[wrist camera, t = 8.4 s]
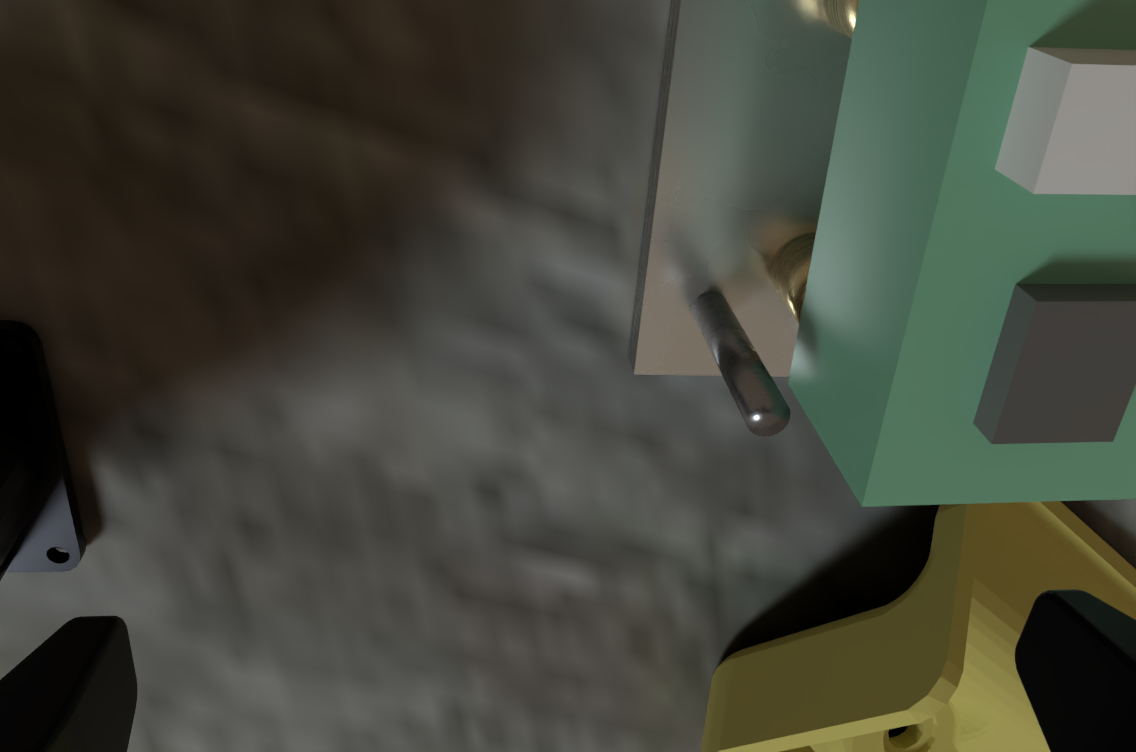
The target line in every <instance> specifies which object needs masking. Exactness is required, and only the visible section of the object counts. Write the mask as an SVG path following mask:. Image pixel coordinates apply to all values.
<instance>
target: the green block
mask: <svg viewBox="0 0 1136 752" xmlns="http://www.w3.org/2000/svg"><path fill="white" fill-rule="evenodd" d="M788 385H789V387H790V388H791V390H792V392H793V393H794V395H795V397H796V398H797V400H798V402H799V403H800V405H801V407H802V408H803V410H804V412H805V413H806V415H807V417H808V418H809V420H810V422H811V423H812V425H813V427H814V428H815V430H816V431H817V433H818V435H819V436H820V438H821V440H822V441H823V443H824V445H825V446H826V448H827V450H828V451H829V453H830V455H831V456H832V458H833V460H834V461H835V463H836V465H837V466H838V468H839V470H840V471H841V473H842V475H843V476H844V478H845V480H846V481H847V483H848V485H849V486H850V488H851V490H852V491H853V493H854V495H855V496H856V498H857V500H858V501H859V503H860V505H861V506H862V507H872V506H906V505H941V504H976V503H1011V502H1045V501H1080V500H1115V499H1136V0H859V5H858V10H857V15H856V21H855V26H854V32H853V37H852V42H851V48H850V53H849V58H848V64H847V69H846V75H845V80H844V85H843V91H842V96H841V101H840V107H839V112H838V118H837V123H836V128H835V134H834V139H833V144H832V150H831V155H830V161H829V166H828V171H827V177H826V182H825V188H824V193H823V198H822V204H821V209H820V214H819V220H818V225H817V231H816V236H815V241H814V247H813V252H812V257H811V263H810V268H809V274H808V279H807V284H806V290H805V295H804V300H803V306H802V311H801V317H800V322H799V327H798V333H797V338H796V344H795V349H794V354H793V360H792V365H791V370H790V376H789V381H788Z"/></svg>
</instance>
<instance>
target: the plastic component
mask: <svg viewBox="0 0 1136 752" xmlns="http://www.w3.org/2000/svg"><path fill="white" fill-rule="evenodd" d="M1066 589H1077V590H1082V591H1086V592H1088V593H1090V594H1091V595H1093V596H1095V597H1097V598H1098V599H1100V600H1102V601H1104V602H1105V603H1107V604H1109V605H1111V606H1112V607H1114V608H1116V609H1118V610H1119V611H1121V612H1123V613H1125V614H1126V615H1128V616H1130V617H1132V618H1133V619H1135V620H1136V569H1135V568H1134V567H1132V566H1131V565H1130V564H1129V563H1128V562H1127V561H1126V560H1125V559H1124V558H1122V557H1121V556H1120V555H1119V554H1118V553H1117V552H1116V551H1115V550H1114V549H1113V548H1111V547H1110V546H1109V545H1108V544H1107V543H1106V542H1105V541H1104V540H1103V539H1101V538H1100V537H1099V536H1098V535H1097V534H1096V533H1095V532H1094V531H1093V530H1091V529H1090V528H1089V527H1088V526H1087V525H1086V524H1085V523H1084V522H1083V521H1082V520H1080V519H1079V518H1078V517H1077V516H1076V515H1075V514H1074V513H1073V512H1072V511H1070V510H1069V509H1068V508H1067V507H1066V506H1065V505H1064V504H1063V503H1062V502H1060V501H1045V502H1011V503H976V504H941V505H940V506H939V509H938V512H937V515H936V518H935V524H934V531H933V537H932V543H931V550H930V555H929V558H928V560H927V563H926V565H925V567H924V569H923V570H922V572H921V573H920V575H919V577H918V578H917V580H916V581H915V582H914V583H913V584H912V586H911V587H910V588H909V589H908V590H907V591H906V592H905V593H903V594H902V595H901V596H900V597H899V598H897V599H896V600H894V601H893V602H891V603H889V604H887V605H885V606H882V607H879V608H876V609H872V610H869V611H866V612H862V613H859V614H856V615H853V616H849V617H846V618H843V619H840V620H836V621H833V622H830V623H826V624H823V625H820V626H817V627H813V628H810V629H807V630H804V631H800V632H797V633H794V634H791V635H787V636H784V637H781V638H777V639H774V640H771V641H768V642H764V643H761V644H758V645H755V646H751V647H748V648H745V649H742V650H739V651H737V652H735V653H733V654H732V655H730V656H728V657H727V658H726V659H725V660H723V661H722V662H721V663H720V664H719V666H718V667H717V668H716V670H715V672H714V675H713V677H712V682H711V688H710V695H709V701H708V707H707V714H706V720H705V727H704V733H703V739H702V746H701V752H1050V749H1049V747H1048V745H1047V742H1046V740H1045V737H1044V735H1043V733H1042V730H1041V728H1040V725H1039V723H1038V721H1037V718H1036V716H1035V713H1034V711H1033V709H1032V706H1031V704H1030V701H1029V699H1028V697H1027V694H1026V692H1025V689H1024V687H1023V685H1022V682H1021V680H1020V677H1019V675H1018V672H1017V669H1016V664H1015V648H1016V645H1017V642H1018V640H1019V637H1020V635H1021V633H1022V630H1023V628H1024V625H1025V623H1026V621H1027V618H1028V616H1029V613H1030V611H1031V609H1032V606H1033V604H1034V601H1035V600H1036V598H1037V597H1038V596H1039V595H1040V594H1041V593H1042V592H1044V591H1047V590H1066ZM908 725H909V726H908ZM903 726H908V727H907V729H906V730H905V731H904V732H903V733H901V734H900V735H898V736H895V737H892V738H890V737H889V735H888V731H889V729H893V728H898V727H903Z"/></svg>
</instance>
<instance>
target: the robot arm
mask: <svg viewBox="0 0 1136 752" xmlns="http://www.w3.org/2000/svg"><path fill="white" fill-rule="evenodd" d="M3 340H11V341H14V342H15V343H17V344H18V345H19V346H20V348H21V350H22V352H15V351H12V350H10V349H9V348H7V347H6V345H5V343H4V342H3ZM54 547H61V548H63V549H65V550H66V551H67V553H65V552H60V551H58V550H56V549H55V548H54ZM85 550H86V542H85V538H84V533H83V529H82V524H81V520H80V515H79V510H78V506H77V501H76V497H75V492H74V488H73V483H72V479H71V474H70V470H69V465H68V460H67V456H66V451H65V447H64V442H63V438H62V433H61V429H60V424H59V419H58V415H57V410H56V406H55V401H54V397H53V392H52V388H51V383H50V379H49V374H48V369H47V365H46V360H45V356H44V351H43V347H42V342H41V340H40V338H39V336H38V334H37V333H36V332H35V331H34V330H33V329H32V328H31V327H30V326H28V325H26V324H24V323H22V322H17V321H12V320H0V580H1V579H2V577H3V575H4V574H5V572H59V571H68V570H71V569H73V568H75V567H77V565H78V564H79V562H80V560H81V558H82V556H83V554H84V552H85ZM1015 664H1016V669H1017V672H1018V675H1019V677H1020V680H1021V682H1022V685H1023V687H1024V689H1025V692H1026V694H1027V697H1028V699H1029V701H1030V704H1031V706H1032V709H1033V711H1034V713H1035V716H1036V718H1037V721H1038V723H1039V725H1040V728H1041V730H1042V733H1043V735H1044V737H1045V740H1046V742H1047V745H1048V747H1049V749H1050V752H1136V620H1135V619H1133V618H1132V617H1130V616H1128V615H1126V614H1125V613H1123V612H1121V611H1119V610H1118V609H1116V608H1114V607H1112V606H1111V605H1109V604H1107V603H1105V602H1104V601H1102V600H1100V599H1098V598H1097V597H1095V596H1093V595H1091V594H1090V593H1088V592H1086V591H1082V590H1077V589H1066V590H1047V591H1044V592H1042V593H1041V594H1040V595H1039V596H1038V597H1037V598H1036V600H1035V601H1034V604H1033V606H1032V609H1031V611H1030V613H1029V616H1028V618H1027V621H1026V623H1025V625H1024V628H1023V630H1022V633H1021V635H1020V637H1019V640H1018V642H1017V645H1016V648H1015ZM136 702H137V679H136V673H135V668H134V663H133V657H132V652H131V646H130V641H129V635H128V630H127V626H126V624H125V622H124V621H123V619H121V618H120V617H118V616H86V617H77V618H74V619H72V620H70V621H68V622H67V623H66V624H64V625H63V626H62V627H61V628H60V629H59V630H57V631H56V632H55V633H54V634H53V635H52V636H50V637H49V638H48V639H47V640H46V641H45V642H44V643H42V644H41V645H40V646H39V647H38V648H37V649H35V650H34V651H33V652H32V653H31V654H30V655H29V656H27V657H26V658H25V659H24V660H23V661H22V662H20V663H19V664H18V665H17V666H16V667H15V668H14V669H12V670H11V671H10V672H9V673H8V674H7V675H5V676H4V677H3V678H2V679H1V680H0V752H127V748H128V743H129V739H130V734H131V729H132V724H133V719H134V714H135V709H136Z"/></svg>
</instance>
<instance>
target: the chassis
mask: <svg viewBox="0 0 1136 752" xmlns="http://www.w3.org/2000/svg"><path fill="white" fill-rule="evenodd" d="M858 5H859V0H672V2H671V10H670V18H669V26H668V35H667V43H666V51H665V59H664V68H663V76H662V84H661V92H660V100H659V109H658V117H657V125H656V133H655V142H654V150H653V158H652V166H651V174H650V183H649V191H648V199H647V207H646V216H645V224H644V232H643V240H642V248H641V257H640V265H639V273H638V281H637V290H636V298H635V306H634V314H633V323H632V331H631V339H630V347H629V355H628V358H629V361H630V364H631V367H632V370H633V373H634V374H643V375H715V376H723V378H724V380H725V382H726V384H727V386H728V388H729V390H730V392H731V394H732V396H733V398H734V400H735V402H736V404H737V406H738V408H739V410H740V412H741V414H742V416H743V418H744V420H745V422H746V424H747V426H748V428H749V430H750V431H751V432H752V433H754V434H756V435H758V436H771V435H774V434H777V433H779V432H780V431H781V430H783V429H784V428H785V427H786V425H787V424H788V422H789V419H790V409H789V407H788V405H787V403H786V402H785V400H784V398H783V397H782V395H781V393H780V391H779V390H778V388H777V386H776V384H775V383H774V381H773V379H772V378H771V376H787V377H789V376H790V370H791V365H792V360H793V354H794V349H795V344H796V338H797V333H798V327H799V322H800V317H801V311H802V306H803V300H804V295H805V290H806V284H807V279H808V274H809V268H810V263H811V257H812V252H813V247H814V241H815V236H816V231H817V225H818V220H819V214H820V209H821V204H822V198H823V193H824V188H825V182H826V177H827V171H828V166H829V161H830V155H831V150H832V144H833V139H834V134H835V128H836V123H837V118H838V112H839V107H840V101H841V96H842V91H843V85H844V80H845V75H846V69H847V64H848V58H849V53H850V48H851V42H852V37H853V32H854V26H855V21H856V15H857V10H858Z"/></svg>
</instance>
